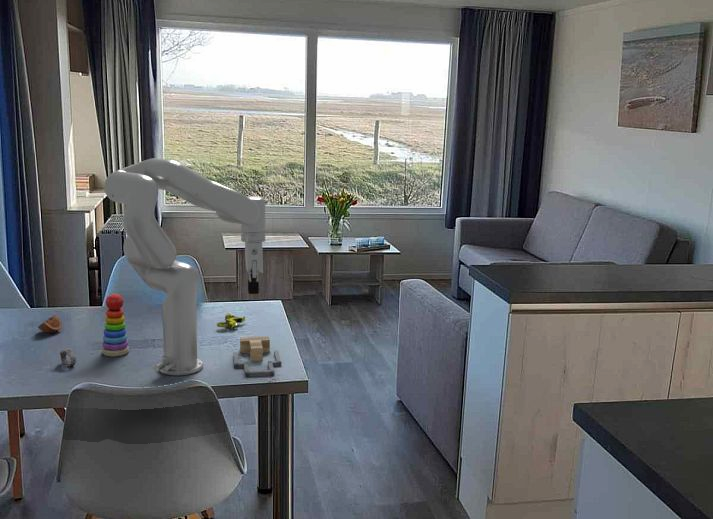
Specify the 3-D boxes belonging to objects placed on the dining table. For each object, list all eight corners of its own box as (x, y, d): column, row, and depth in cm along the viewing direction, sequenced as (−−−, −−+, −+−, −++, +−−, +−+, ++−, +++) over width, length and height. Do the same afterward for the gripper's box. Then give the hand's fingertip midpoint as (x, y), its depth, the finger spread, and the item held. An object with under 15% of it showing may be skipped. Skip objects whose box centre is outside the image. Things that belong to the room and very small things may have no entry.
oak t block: (240, 349, 218) (240, 337, 217) (268, 348, 220) (268, 336, 219) (241, 361, 208) (241, 348, 207) (271, 360, 210) (271, 347, 209)
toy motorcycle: (227, 310, 245) (246, 312, 244) (227, 320, 246) (246, 322, 245) (215, 320, 234) (235, 322, 233) (215, 331, 235) (235, 333, 234)
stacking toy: (100, 358, 207) (97, 298, 202) (103, 349, 214) (100, 291, 210) (128, 356, 209) (126, 297, 205) (129, 347, 216) (127, 290, 212)
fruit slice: (53, 337, 224) (52, 322, 222) (33, 336, 224) (32, 321, 223) (65, 329, 232) (65, 314, 231) (46, 328, 232) (45, 313, 231)
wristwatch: (68, 360, 204) (67, 344, 203) (79, 366, 200) (78, 350, 199) (57, 364, 201) (56, 347, 200) (68, 369, 197) (66, 353, 196)
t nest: (233, 356, 212) (233, 352, 212) (278, 354, 215) (278, 350, 214) (235, 377, 196) (235, 373, 195) (284, 374, 198) (284, 370, 198)
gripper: (267, 240, 209) (267, 299, 213) (263, 231, 224) (263, 286, 228) (242, 241, 208) (242, 299, 212) (239, 231, 223) (240, 286, 227)
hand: (253, 292), depth 220 cm, fingers closed
